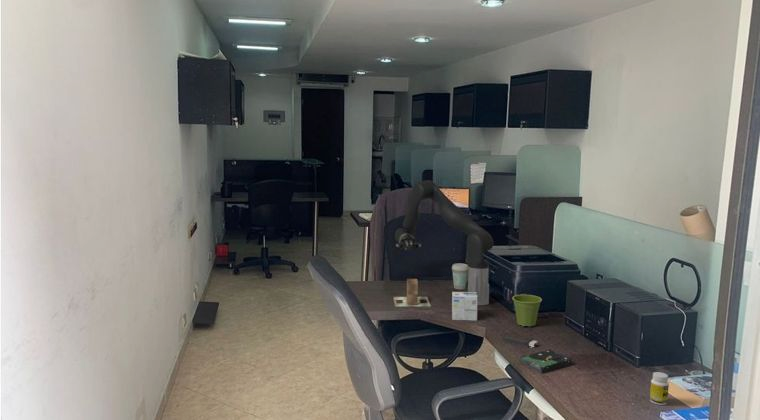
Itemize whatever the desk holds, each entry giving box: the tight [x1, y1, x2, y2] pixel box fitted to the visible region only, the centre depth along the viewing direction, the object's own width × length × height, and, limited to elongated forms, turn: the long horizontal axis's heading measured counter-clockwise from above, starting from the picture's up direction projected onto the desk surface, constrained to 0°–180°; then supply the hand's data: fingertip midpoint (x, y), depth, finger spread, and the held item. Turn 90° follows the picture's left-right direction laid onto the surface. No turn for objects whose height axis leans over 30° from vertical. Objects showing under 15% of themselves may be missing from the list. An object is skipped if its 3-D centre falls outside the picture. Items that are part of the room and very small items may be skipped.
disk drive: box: [519, 349, 572, 374], centre depth 198 cm, size 10×3×15 cm
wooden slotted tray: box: [392, 296, 431, 307], centre depth 265 cm, size 16×15×2 cm
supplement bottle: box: [649, 371, 670, 406], centre depth 170 cm, size 5×5×8 cm
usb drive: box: [502, 332, 539, 348], centre depth 217 cm, size 5×12×3 cm, turn 51°
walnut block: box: [406, 278, 419, 305], centre depth 260 cm, size 4×4×11 cm
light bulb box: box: [451, 291, 478, 322], centre depth 245 cm, size 11×7×11 cm, turn 84°
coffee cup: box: [451, 262, 469, 290], centre depth 293 cm, size 8×9×12 cm
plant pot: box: [511, 294, 543, 327], centre depth 237 cm, size 12×12×11 cm
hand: (410, 248), depth 274 cm, fingers closed
